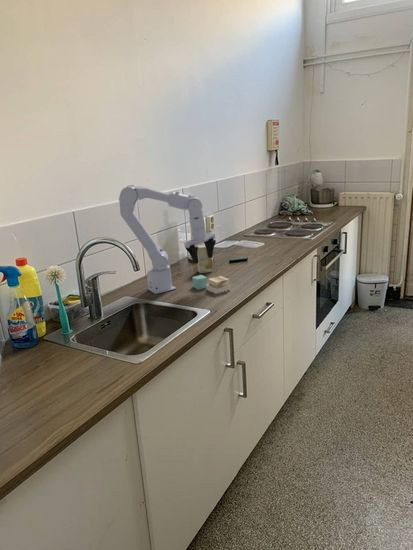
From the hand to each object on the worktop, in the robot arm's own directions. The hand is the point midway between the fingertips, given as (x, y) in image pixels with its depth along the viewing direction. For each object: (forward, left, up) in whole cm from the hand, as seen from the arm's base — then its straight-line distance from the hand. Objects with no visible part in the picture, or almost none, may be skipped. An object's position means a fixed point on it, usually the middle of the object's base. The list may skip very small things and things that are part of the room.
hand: (203, 260), depth 170 cm
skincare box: (+11, +18, -11) cm, 24 cm away
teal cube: (-2, 0, -11) cm, 11 cm away
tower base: (+2, -8, -12) cm, 14 cm away
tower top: (+2, -8, -9) cm, 12 cm away
